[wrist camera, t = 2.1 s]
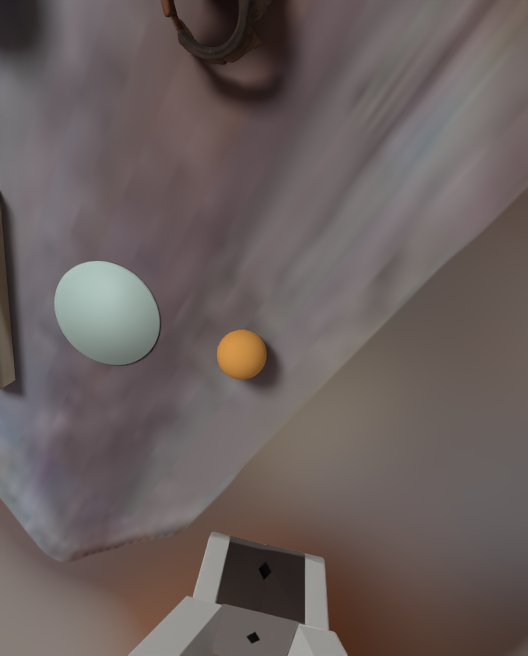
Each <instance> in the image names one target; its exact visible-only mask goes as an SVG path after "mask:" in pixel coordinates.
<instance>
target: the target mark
mask: <svg viewBox="0 0 528 656" xmlns="http://www.w3.org/2000/svg"><path fill="white" fill-rule="evenodd" d="M54 305H55V313H56V317H57V321H58V323H59V326H60V328H61V330H62V332H63V333H64V335H65V336H66V338H67V339H68V340H69V342H70V343H71V344H72V345H73V346H74V347H75V348H76V349H77V350H78V351H80V352H81V353H82V354H84V355H85V356H87V357H89V358H91V359H93V360H95V361H98V362H100V363H104V364H109V365H125V364H130V363H133V362H135V361H137V360H139V359H141V358H142V357H144V356H145V355H146V354H147V353H148V352H149V351H150V350H151V349H152V347H153V346H154V344H155V342H156V340H157V338H158V334H159V329H160V316H159V311H158V307H157V304H156V301H155V299H154V297H153V295H152V293H151V292H150V290H149V289H148V287H147V286H146V285H145V284H144V283H143V282H142V280H140V279H139V278H138V277H137V276H136V275H135V274H133V273H132V272H131V271H129V270H127V269H126V268H124V267H122V266H119V265H117V264H114V263H110V262H104V261H92V262H86V263H83V264H80V265H78V266H75V267H74V268H72V269H71V270H69V271H68V272H67V273H66V274H65V275H64V276H63V278H62V279H61V281H60V283H59V285H58V287H57V290H56V294H55V304H54Z"/></svg>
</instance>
